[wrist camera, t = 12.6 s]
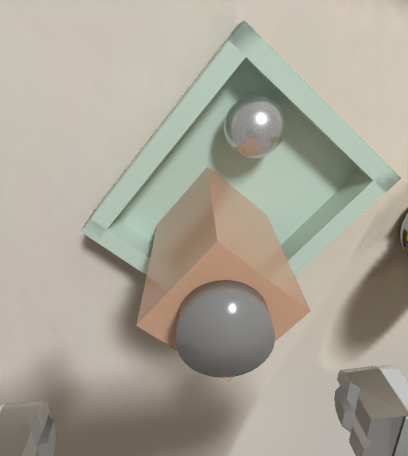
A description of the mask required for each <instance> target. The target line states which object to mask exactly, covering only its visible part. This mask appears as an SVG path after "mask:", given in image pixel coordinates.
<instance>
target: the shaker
mask: <svg viewBox="0 0 408 456" xmlns="http://www.w3.org/2000/svg"><path fill="white" fill-rule="evenodd" d="M309 312H310V309H309V307H308V305H307V303H306V300H305V298H304V296H303V294H302V291H301V289H300V287H299V285H298V283H297V280H296V278H295V276H294V274H293V271H292V269H291V267H290V265H289V263H288V260H287V258H286V256H285V254H284V252H283V249H282V247H281V245H280V243H279V240H278V238H277V236H276V234H275V232H274V229H273V227H272V225H271V223H270V221H269V218H268V216H267V214H265V213H264V212H263V211H262V210H260V209H259V208H258V207H257V206H256V205H254V204H253V203H252V202H251V201H249V200H248V199H247V198H246V197H245V196H243V195H242V194H241V193H240V192H239V191H237V190H236V189H235V188H234V187H232V186H231V185H230V184H229V183H228V182H226V181H225V180H224V179H223V178H222V177H220V176H219V175H218V174H217V173H215V172H214V171H213V170H212V169H211V168H209V167H208V166H207V168H206V169H205V170H204V171H203V172H202V173H201V174H200V176H199V177H198V178H197V179H196V180H195V181H194V182H193V184H192V185H191V186H190V187H189V188H188V189H187V191H186V192H185V193H184V194H183V195H182V196H181V197H180V199H179V200H178V201H177V202H176V203H175V204H174V205H173V207H172V208H171V209H170V210H169V211H168V212H167V214H166V215H165V216H164V217H163V218H162V219H161V220H160V222H159V223H158V224H157V228H156V232H155V237H154V242H153V247H152V252H151V257H150V261H149V266H148V271H147V276H146V281H145V286H144V290H143V295H142V300H141V305H140V310H139V315H138V319H137V324H136V326H138V327H139V328H141V329H142V330H144V331H146V332H147V333H149V334H151V335H152V336H154V337H156V338H157V339H159V340H160V341H162V342H164V343H165V344H167V345H169V346H170V347H172V348H174V349H175V350H177V351H178V353H179V355H180V357H181V358H182V360H183V361H184V362H185V363H186V364H187V365H188V366H189V367H191V368H192V369H194V370H195V371H197V372H199V373H202V374H204V375H208V376H213V377H221V378H223V379H224V380H226V381H229V380H230V379H231V378H233V377H234V376H238V375H242V374H245V373H248V372H250V371H252V370H254V369H255V368H257V367H258V366H260V365H261V364H262V363H263V362H264V361H265V360H266V359H267V358H268V357H269V355H270V353H271V352H272V349H273V347H274V343H275V341H276V340H277V339H278V338H280V337H281V336H282V335H283V334H284V333H286V332H287V331H288V330H289V329H290V328H291V327H293V326H294V325H295V324H296V323H297V322H298V321H300V320H301V319H302V318H303V317H304V316H305V315H307V314H308V313H309Z"/></svg>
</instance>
